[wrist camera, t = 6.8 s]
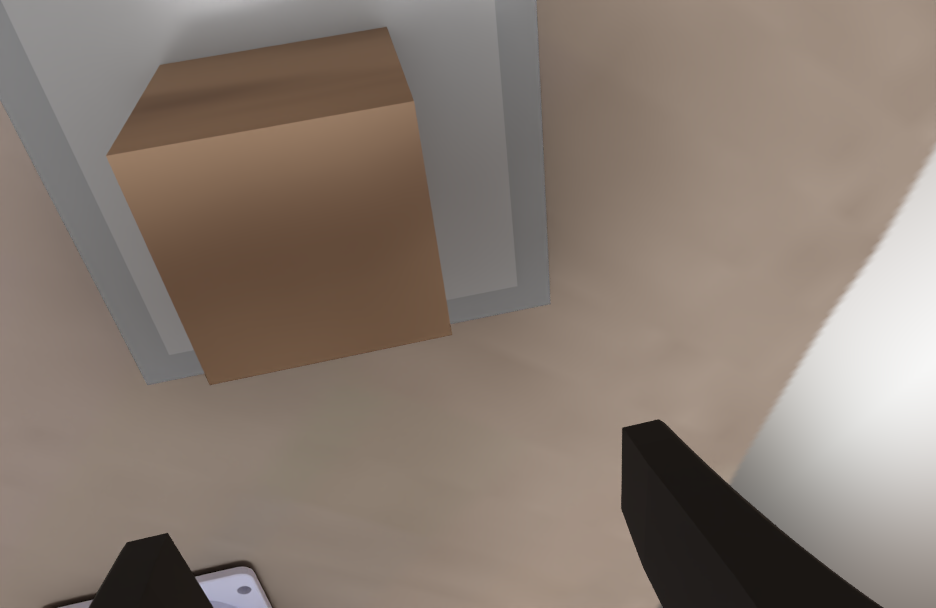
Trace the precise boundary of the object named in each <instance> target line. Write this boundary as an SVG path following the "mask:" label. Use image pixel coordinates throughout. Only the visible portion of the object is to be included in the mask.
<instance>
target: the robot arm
mask: <svg viewBox="0 0 936 608" xmlns="http://www.w3.org/2000/svg"><path fill="white" fill-rule="evenodd" d="M621 509H622V512H623V515H624V517H625V520H626V523H627V526H628V528H629V531H630V534H631V537H632V539H633V542H634V545H635V547H636V550H637V552H638V555H639V558H640V560H641V563H642V565H643V568H644V570H645V572H646V574H647V576H648V578H649V580H650V582H651V584H652V586H653V588H654V590H655V592H656V594H657V596H658V598H659V600H660V602H661V604H662V606H663V608H883V607H882V606H880V605H879V604H877V603H876V602H874V601H873V600H871V599H870V598H869V597H867V596H866V595H864V594H863V593H862V592H860V591H859V590H858V589H856V588H855V587H853V586H852V585H851V584H849V583H848V582H847V581H845V580H844V579H843V578H841V577H840V576H839V575H837V574H836V573H835V572H833V571H832V570H831V569H829V568H828V567H827V566H826V565H824V564H823V563H822V562H820V561H819V560H818V559H817V558H815V557H814V556H813V555H812V554H810V553H809V552H808V551H806V550H805V549H804V548H803V547H801V546H800V545H799V544H798V543H796V542H795V541H794V540H793V539H791V538H790V537H789V536H788V535H787V534H785V533H784V532H783V531H782V530H780V529H779V528H778V527H777V526H776V525H774V524H773V523H772V522H771V521H770V520H769V519H768V518H766V517H765V516H764V515H763V514H762V513H761V512H759V511H758V510H757V509H756V508H755V507H753V506H752V505H751V504H750V503H749V502H748V501H747V500H745V499H744V498H743V497H742V496H741V495H740V494H739V493H738V492H736V491H735V490H734V489H733V488H732V487H731V486H730V485H729V484H728V483H727V482H725V481H724V480H723V479H722V478H721V477H720V476H719V475H718V474H717V473H716V472H715V471H714V470H712V469H711V468H710V467H709V466H708V465H707V464H706V463H705V462H704V461H703V460H702V459H701V458H700V457H699V456H698V455H697V454H696V453H695V452H694V451H692V450H691V449H690V448H689V447H688V446H687V445H686V444H685V443H684V442H683V441H682V440H681V439H680V438H679V437H678V436H677V435H676V434H675V433H674V432H673V431H672V430H671V429H670V428H669V427H668V426H667V425H666V424H665V423H664V422H662V421H661V420H659V419H658V420H654V421H650V422H645V423H641V424H637V425H632V426H628V427H624V428H622V495H621ZM58 608H272V607H271V605H270V603H269V601H268V599H267V597H266V595H265V593H264V591H263V589H262V587H261V585H260V583H259V581H258V579H257V577H256V575H255V573H254V571H253V570H252V569H250V568H248V567H243V566H242V567H235V568H231V569H226V570H222V571H217V572H213V573H209V574H204V575H200V576H194V575H193V573H192V572H191V570H190V568H189V567H188V565H187V563H186V562H185V560H184V559H183V557H182V555H181V554H180V552H179V551H178V549H177V547H176V546H175V544H174V542H173V541H172V539H171V538H170V536H169V534H168V533H165V534H161V535H157V536H152V537H148V538H144V539H139V540H135V541H131V542H127V543H126V545H125V546H124V547H123V549H122V551H121V552H120V554H119V556H118V557H117V559H116V561H115V563H114V564H113V566H112V568H111V569H110V571H109V573H108V575H107V576H106V578H105V580H104V582H103V583H102V585H101V587H100V589H99V590H98V592H97V594H96V596H95V597H94V599H93V600H89V601H85V602H80V603H76V604H71V605H67V606H63V607H58Z"/></svg>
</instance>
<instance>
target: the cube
mask: <svg viewBox="0 0 936 608" xmlns="http://www.w3.org/2000/svg"><path fill="white" fill-rule="evenodd" d="M106 157H107V159H108V162H109V164H110V166H111V168H112V170H113V173H114V175H115V177H116V179H117V181H118V184H119V186H120V188H121V190H122V192H123V195H124V197H125V199H126V201H127V204H128V206H129V208H130V210H131V212H132V215H133V217H134V219H135V221H136V223H137V226H138V228H139V230H140V232H141V234H142V237H143V239H144V241H145V243H146V245H147V248H148V250H149V252H150V254H151V256H152V259H153V261H154V263H155V265H156V267H157V270H158V272H159V274H160V276H161V279H162V281H163V283H164V285H165V287H166V290H167V292H168V294H169V296H170V298H171V301H172V303H173V305H174V307H175V309H176V312H177V314H178V316H179V318H180V320H181V323H182V325H183V327H184V329H185V331H186V334H187V336H188V338H189V340H190V343H191V345H192V347H193V349H194V351H195V354H196V356H197V358H198V360H199V362H200V365H201V367H202V369H203V371H204V373H205V376H206V378H207V380H208V382H209V384H210V385H213V384H218V383H222V382H227V381H232V380H237V379H242V378H247V377H251V376H256V375H261V374H266V373H271V372H276V371H280V370H285V369H290V368H295V367H300V366H304V365H309V364H314V363H319V362H324V361H329V360H333V359H338V358H343V357H348V356H353V355H358V354H362V353H367V352H372V351H377V350H382V349H386V348H391V347H396V346H401V345H406V344H411V343H415V342H420V341H425V340H430V339H435V338H439V337H444V336H449V335H452V331H451V325H450V319H449V313H448V306H447V300H446V294H445V288H444V282H443V276H442V270H441V263H440V257H439V251H438V245H437V239H436V233H435V227H434V221H433V214H432V208H431V202H430V196H429V190H428V184H427V178H426V171H425V165H424V159H423V153H422V147H421V141H420V135H419V129H418V122H417V116H416V110H415V104H414V100H413V97H412V94H411V92H410V89H409V86H408V83H407V81H406V78H405V75H404V72H403V70H402V67H401V64H400V62H399V59H398V56H397V53H396V51H395V48H394V45H393V43H392V40H391V37H390V34H389V32H388V29H387V27H383V28H377V29H371V30H365V31H359V32H353V33H347V34H341V35H335V36H329V37H323V38H317V39H311V40H305V41H299V42H293V43H287V44H281V45H276V46H270V47H264V48H258V49H252V50H246V51H240V52H234V53H228V54H222V55H216V56H210V57H204V58H198V59H192V60H186V61H180V62H174V63H168V64H163V65H159V67H158V69H157V70H156V72H155V74H154V76H153V77H152V79H151V81H150V82H149V84H148V86H147V87H146V89H145V91H144V92H143V94H142V96H141V97H140V99H139V101H138V103H137V104H136V106H135V108H134V109H133V111H132V113H131V114H130V116H129V118H128V119H127V121H126V123H125V125H124V126H123V128H122V130H121V131H120V133H119V135H118V136H117V138H116V140H115V141H114V143H113V145H112V147H111V148H110V150H109V152H108V153H107V155H106Z"/></svg>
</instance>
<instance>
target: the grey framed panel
mask: <svg viewBox="0 0 936 608" xmlns="http://www.w3.org/2000/svg"><path fill="white" fill-rule="evenodd" d="M383 27H387V29H388V32H389V34H390V37H391V40H392V43H393V45H394V48H395V51H396V53H397V56H398V59H399V62H400V64H401V67H402V70H403V72H404V75H405V78H406V81H407V83H408V86H409V89H410V92H411V94H412V97H413V100H414V104H415V110H416V116H417V122H418V129H419V135H420V141H421V147H422V153H423V159H424V165H425V171H426V178H427V184H428V190H429V196H430V202H431V208H432V214H433V221H434V227H435V233H436V239H437V245H438V251H439V257H440V263H441V270H442V276H443V282H444V288H445V294H446V300H447V306H448V313H449V319H450V324H454V323H459V322H464V321H469V320H474V319H479V318H484V317H489V316H493V315H498V314H503V313H508V312H513V311H518V310H523V309H528V308H533V307H538V306H543V305H548V304H550V282H549V261H548V239H547V218H546V196H545V175H544V153H543V131H542V110H541V88H540V67H539V45H538V24H537V2H536V0H0V101H1V103H2V105H3V107H4V108H5V110H6V112H7V114H8V116H9V118H10V120H11V122H12V124H13V126H14V128H15V130H16V132H17V134H18V136H19V138H20V139H21V141H22V143H23V145H24V147H25V149H26V151H27V153H28V155H29V157H30V159H31V161H32V163H33V165H34V167H35V168H36V170H37V172H38V174H39V176H40V178H41V180H42V182H43V184H44V186H45V188H46V190H47V192H48V194H49V196H50V198H51V199H52V201H53V203H54V205H55V207H56V209H57V211H58V213H59V215H60V217H61V219H62V221H63V223H64V225H65V227H66V229H67V230H68V232H69V234H70V236H71V238H72V240H73V242H74V244H75V246H76V248H77V250H78V252H79V254H80V256H81V258H82V259H83V261H84V263H85V265H86V267H87V269H88V271H89V273H90V275H91V277H92V279H93V281H94V283H95V285H96V287H97V289H98V290H99V292H100V294H101V296H102V298H103V300H104V302H105V304H106V306H107V308H108V310H109V312H110V314H111V316H112V318H113V319H114V321H115V323H116V325H117V327H118V329H119V331H120V333H121V335H122V337H123V339H124V341H125V343H126V345H127V347H128V349H129V350H130V352H131V354H132V356H133V358H134V360H135V362H136V364H137V366H138V368H139V370H140V372H141V374H142V376H143V378H144V380H145V381H146V383H147V385H151V384H155V383H160V382H165V381H170V380H175V379H180V378H185V377H190V376H195V375H200V374H205V373H204V371H203V369H202V367H201V365H200V362H199V360H198V358H197V356H196V354H195V351H194V349H193V347H192V345H191V343H190V340H189V338H188V336H187V334H186V331H185V329H184V327H183V325H182V323H181V320H180V318H179V316H178V314H177V312H176V309H175V307H174V305H173V303H172V301H171V298H170V296H169V294H168V292H167V290H166V287H165V285H164V283H163V281H162V279H161V276H160V274H159V272H158V270H157V267H156V265H155V263H154V261H153V259H152V256H151V254H150V252H149V250H148V248H147V245H146V243H145V241H144V239H143V237H142V234H141V232H140V230H139V228H138V226H137V223H136V221H135V219H134V217H133V215H132V212H131V210H130V208H129V206H128V204H127V201H126V199H125V197H124V195H123V192H122V190H121V188H120V186H119V184H118V181H117V179H116V177H115V175H114V173H113V170H112V168H111V166H110V164H109V162H108V159H107V157H106V155H107V153H108V152H109V150H110V148H111V147H112V145H113V143H114V141H115V140H116V138H117V136H118V135H119V133H120V131H121V130H122V128H123V126H124V125H125V123H126V121H127V119H128V118H129V116H130V114H131V113H132V111H133V109H134V108H135V106H136V104H137V103H138V101H139V99H140V97H141V96H142V94H143V92H144V91H145V89H146V87H147V86H148V84H149V82H150V81H151V79H152V77H153V76H154V74H155V72H156V70H157V69H158V67H159V65H163V64H168V63H174V62H180V61H186V60H192V59H198V58H204V57H210V56H216V55H222V54H228V53H234V52H240V51H246V50H252V49H258V48H264V47H270V46H276V45H281V44H287V43H293V42H299V41H305V40H311V39H317V38H323V37H329V36H335V35H341V34H347V33H353V32H359V31H365V30H371V29H377V28H383Z"/></svg>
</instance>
